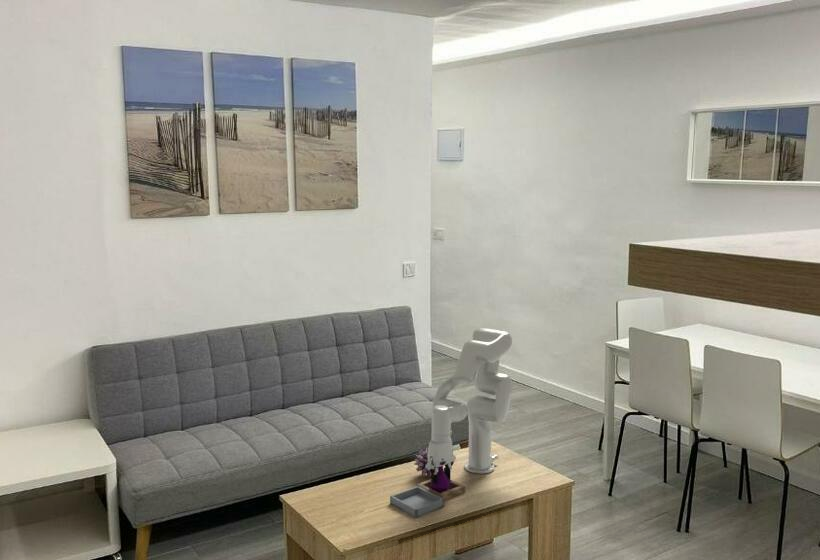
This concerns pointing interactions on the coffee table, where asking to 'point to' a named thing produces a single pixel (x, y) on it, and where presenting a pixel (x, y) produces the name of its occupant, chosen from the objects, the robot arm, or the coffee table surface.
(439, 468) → the perfume bottle
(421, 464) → the flower
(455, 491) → the square wooden frame
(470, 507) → the coffee table surface
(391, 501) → the tray
